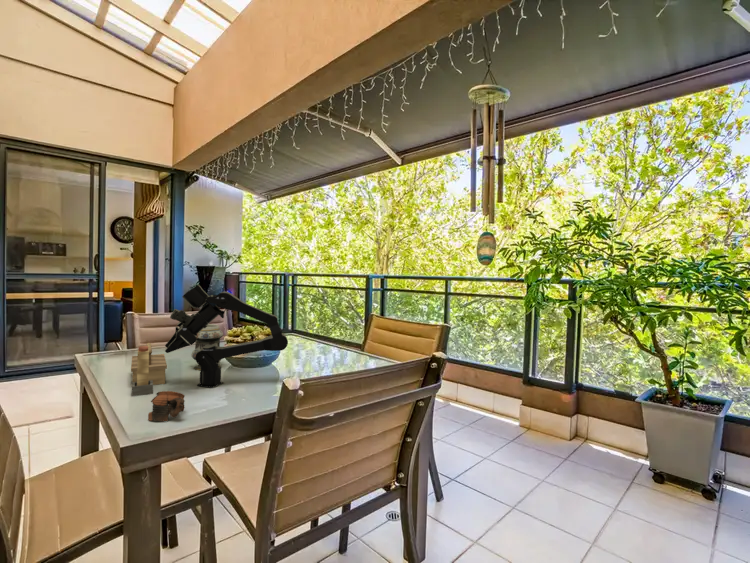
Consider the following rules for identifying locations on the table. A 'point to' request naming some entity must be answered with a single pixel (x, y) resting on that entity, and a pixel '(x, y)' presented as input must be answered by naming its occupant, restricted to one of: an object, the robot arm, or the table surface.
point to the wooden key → (143, 365)
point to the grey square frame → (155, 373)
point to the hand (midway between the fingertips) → (165, 349)
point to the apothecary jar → (207, 339)
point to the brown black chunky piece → (166, 405)
